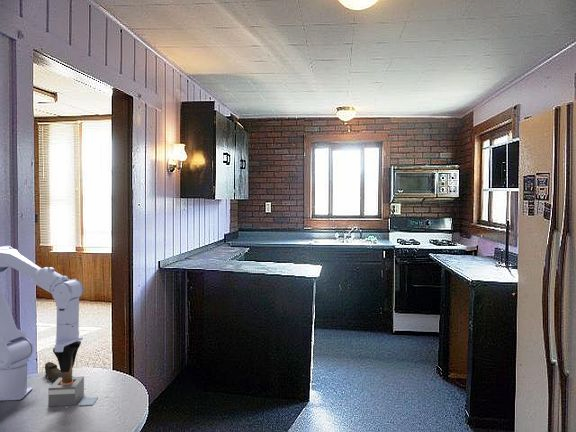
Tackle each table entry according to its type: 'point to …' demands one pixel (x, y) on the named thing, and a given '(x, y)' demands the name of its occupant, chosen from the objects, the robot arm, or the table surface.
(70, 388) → the gray hollow box
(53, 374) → the brown rough rod
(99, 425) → the table surface
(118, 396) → the table surface
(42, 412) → the table surface
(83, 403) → the pad
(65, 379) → the wooden rod
